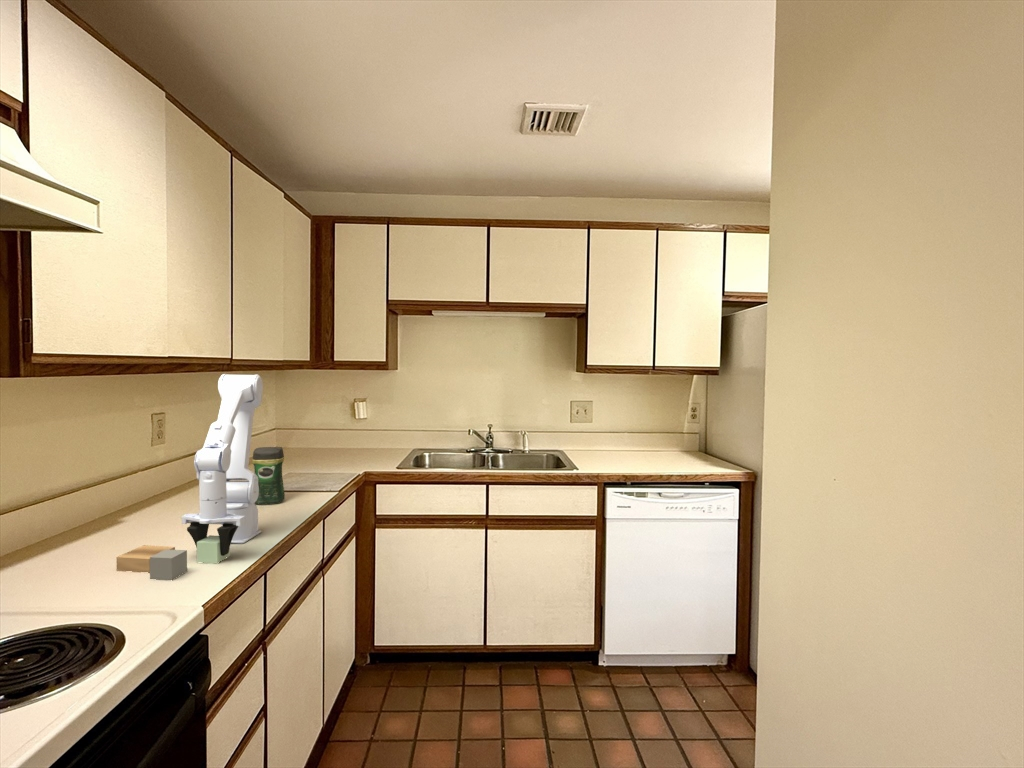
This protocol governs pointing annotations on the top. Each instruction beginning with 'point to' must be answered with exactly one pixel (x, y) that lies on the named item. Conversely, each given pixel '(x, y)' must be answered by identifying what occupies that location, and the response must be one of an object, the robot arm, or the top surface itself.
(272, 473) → the coffee jar
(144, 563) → the walnut base
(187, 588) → the top surface
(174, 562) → the charcoal cube
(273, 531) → the top surface
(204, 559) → the sage cube
